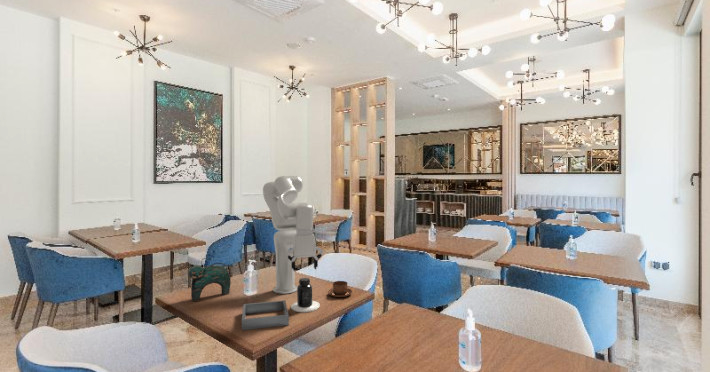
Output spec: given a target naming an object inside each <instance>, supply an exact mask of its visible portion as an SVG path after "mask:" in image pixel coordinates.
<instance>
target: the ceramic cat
mask: <svg viewBox="0 0 710 372" xmlns="http://www.w3.org/2000/svg"><path fill="white" fill-rule="evenodd" d="M205 259H206V260H209V257H204V258H202V259H201V262H200V263H201V265H200V264H191V265H190V267H189V268H188V270H187V273H188V274H187V275H188V276H189V278H190V279H191V288H190V289H191V290H190V291H191V292H190V293H191V295H190V296H191V301H192V300H193V302H197V301H196V300H199V301H200V300H201V295H202V292H203V290H204V289H205V287H206V286H209V285H210V284H217V285H219V286H220V289H221V295H223V296H225V294H226V295H229V294H230V292H231V291H230V288H231V275H230V273H229V271H228V267H227V265H226V264H225V263H223V262H215V263H213V264H210V265H207V266H204V264H203V260H205ZM224 266H225V267H224Z"/></svg>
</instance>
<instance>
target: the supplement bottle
mask: <svg viewBox="0 0 710 372" xmlns="http://www.w3.org/2000/svg"><path fill="white" fill-rule="evenodd" d="M298 281H299V282H298V286H297V291H296V292H297V293H296V294H297V296H296V297H297V301H296V302H297V303H298V306H299V307H302V308H305V307H310V306H311V305H312V301H313V285H312V284H311V280H310V278H308V277H302V278H299V279H298Z"/></svg>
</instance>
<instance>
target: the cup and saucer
mask: <svg viewBox="0 0 710 372" xmlns="http://www.w3.org/2000/svg"><path fill="white" fill-rule="evenodd" d="M347 292H348V293H349V294H347V295H345V294H346V293H347ZM332 293H334V294H335V295H332ZM352 293H353V290H352V289H350V288H348V282H347V281H345V280H337V281H334V282H332V288H331V289H329V290H328V294H329V295H330V296H331V297H335V298H345V297H348V296H350V295H352Z"/></svg>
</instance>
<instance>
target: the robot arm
mask: <svg viewBox="0 0 710 372" xmlns="http://www.w3.org/2000/svg"><path fill="white" fill-rule="evenodd" d="M302 189H303V180H302V179H301V177H299V176H298V175H286V176H285V175H283V176H282V175H280V176H278V177H276V178H275V180H274V181H269V182H266V183H265V184H264V185H263V187H262V195H263V196H262V197H263V198H264V201H265V203H266V205H267V208H269V213H270V217H271V220H272V221H271V222H272V226H273V228H274V229H275V230H277V231H276V232H275V233H274V234H273V242H274V243H273V244H274V250H275V251H274V252H275V286H274V287H273V289H272V292H273V293H275V294H283V295H285V294H291V293H295V292H297V287H298V286H297V285H295V282H296V281H295V276H296V275H295V272H296V259H297V258H301V259H302V258H314V260H313V268H314V270H317V268H318V267H319V266H318V262H319V259H321V257H322V256H323V253H324V252H325V251H324V249H322V248H321V247H318V246H317V243H316V237H315V233H316V232H317V229H316V228H314V207H313V206H312V205H311V204H308V203H307V202H294V201H296V199H297V198H298V194H299V193H300V192H302ZM317 252H319V253H318V254H317Z"/></svg>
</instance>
